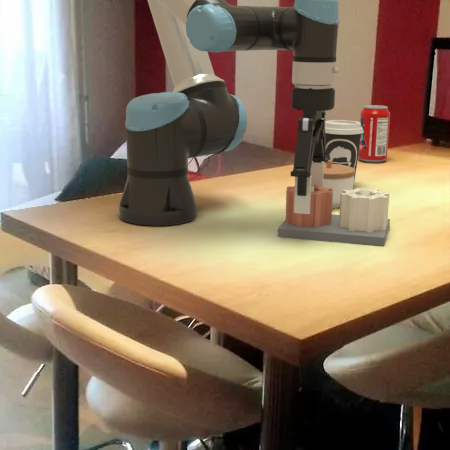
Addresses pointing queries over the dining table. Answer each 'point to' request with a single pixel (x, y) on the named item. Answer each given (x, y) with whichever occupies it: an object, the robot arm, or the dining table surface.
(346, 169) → the lidded jar
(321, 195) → the gear
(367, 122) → the soda can
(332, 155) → the coffee cup
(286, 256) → the dining table surface
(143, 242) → the dining table surface
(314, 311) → the dining table surface
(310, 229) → the gear board
